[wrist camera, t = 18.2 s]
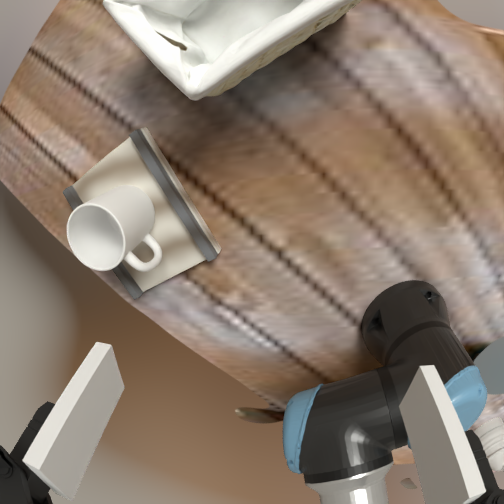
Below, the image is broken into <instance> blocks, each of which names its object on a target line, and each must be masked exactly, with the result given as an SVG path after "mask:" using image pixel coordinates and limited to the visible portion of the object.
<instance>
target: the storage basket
mask: <svg viewBox="0 0 504 504" xmlns="http://www.w3.org/2000/svg"><path fill="white" fill-rule="evenodd" d="M360 1H361V0H104V2H103V5H104V7H105V8H106V10H107V11H108V12H109V13H110V15H111V16H112V17H113V19H114V20H115V21H116V22H117V24H118V25H119V26H120V27H121V28H122V30H123V31H124V32H125V33H126V34H127V35H128V36H129V37H130V39H131V40H132V41H133V42H134V43H135V44H136V45H137V46H138V47H139V48H140V49H141V51H142V52H143V53H144V54H145V55H146V56H147V57H148V58H149V59H150V61H151V62H152V63H153V64H154V65H155V66H156V67H157V68H158V69H159V70H160V71H161V72H162V73H163V74H164V75H165V76H166V77H167V78H168V79H169V80H170V81H171V82H172V83H173V84H174V85H175V86H176V87H177V88H178V89H179V90H180V91H181V92H183V93H184V94H185V95H186V96H187V97H188V98H189V99H191V100H195V101H196V100H199V99H201V98H203V97H205V96H219V95H221V94H222V93H223V92H225V91H226V90H228V89H231V88H233V87H235V86H236V85H237V84H239V83H240V82H241V81H242V80H243V79H245V78H247V77H248V76H250V75H251V74H252V73H253V72H254V71H257V70H258V69H260V68H263V67H264V66H266V65H268V64H269V63H271V62H272V61H273V60H274V59H276V58H277V57H279V56H281V55H283V54H284V53H286V52H288V51H289V50H291V49H292V48H293V47H294V46H296V45H298V44H300V43H302V42H303V41H305V40H306V39H307V38H309V37H310V35H312V34H314V33H316V32H318V31H320V30H321V29H323V28H325V27H326V26H327V25H329V24H332V23H334V22H335V21H336V20H338V19H339V18H340V17H341V16H342V15H344V14H345V13H347V12H348V11H349V10H350V9H351V8H353V7H355V6H356V5H357V4H358V3H360Z"/></svg>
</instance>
